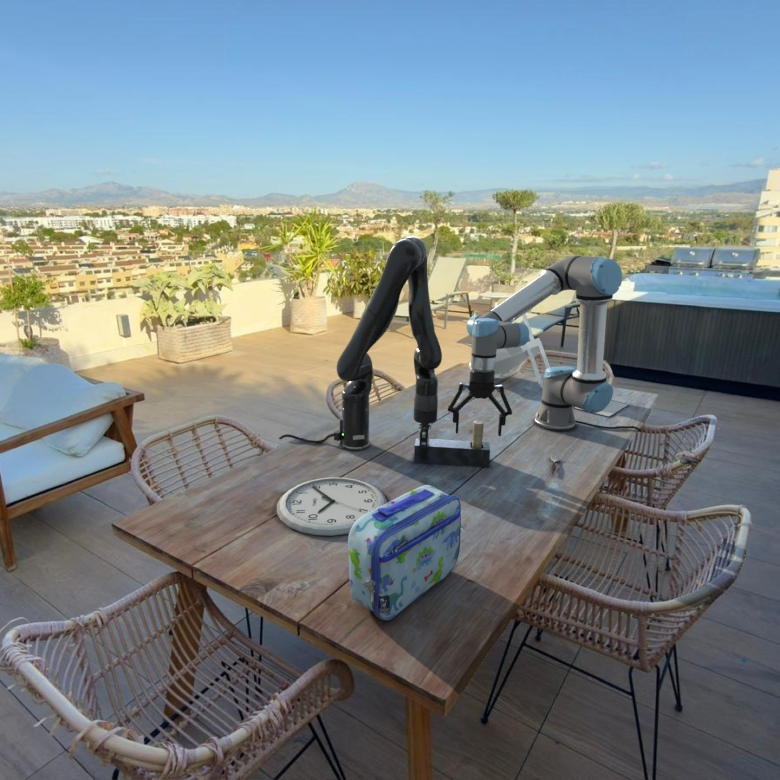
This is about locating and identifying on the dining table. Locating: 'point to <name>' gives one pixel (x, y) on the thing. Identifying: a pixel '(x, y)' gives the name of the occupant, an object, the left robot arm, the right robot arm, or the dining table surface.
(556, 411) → the right robot arm
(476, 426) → the peg
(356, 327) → the left robot arm
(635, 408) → the dining table surface
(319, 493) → the wall clock
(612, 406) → the invitation card
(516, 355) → the white plastic object
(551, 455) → the fork
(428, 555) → the lunch box
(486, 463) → the peg board
